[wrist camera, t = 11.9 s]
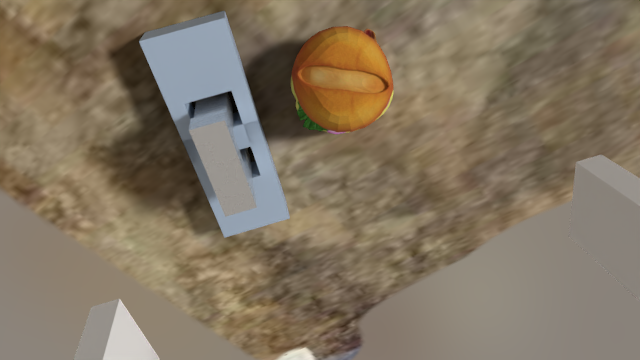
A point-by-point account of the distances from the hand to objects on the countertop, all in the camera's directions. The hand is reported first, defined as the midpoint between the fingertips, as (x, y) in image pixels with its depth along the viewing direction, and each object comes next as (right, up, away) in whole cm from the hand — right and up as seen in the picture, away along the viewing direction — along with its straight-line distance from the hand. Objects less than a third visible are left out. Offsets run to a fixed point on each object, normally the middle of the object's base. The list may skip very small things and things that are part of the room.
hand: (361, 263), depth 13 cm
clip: (-11, +8, +34) cm, 37 cm away
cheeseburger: (0, +13, +34) cm, 36 cm away
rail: (-11, +8, +34) cm, 37 cm away
